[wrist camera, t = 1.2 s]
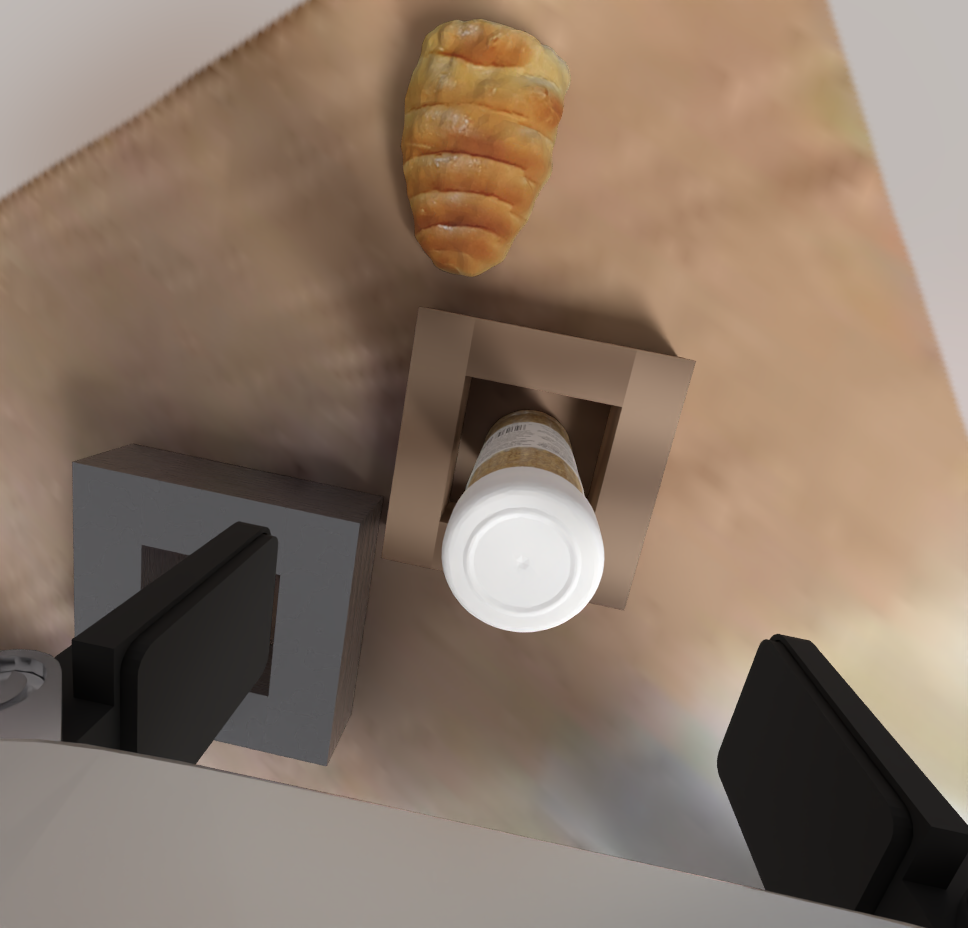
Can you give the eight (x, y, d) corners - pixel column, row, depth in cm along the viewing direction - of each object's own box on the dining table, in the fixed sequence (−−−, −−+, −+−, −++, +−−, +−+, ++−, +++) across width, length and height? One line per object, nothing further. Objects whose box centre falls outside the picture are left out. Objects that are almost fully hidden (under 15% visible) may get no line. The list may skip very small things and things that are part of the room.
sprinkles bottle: (497, 503, 29) (466, 653, 16) (471, 421, 28) (415, 508, 15) (583, 481, 28) (625, 619, 15) (559, 395, 27) (582, 464, 14)
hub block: (351, 714, 33) (326, 766, 29) (128, 663, 33) (75, 708, 30) (383, 496, 29) (359, 523, 25) (132, 443, 30) (72, 462, 26)
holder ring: (615, 581, 29) (623, 610, 26) (396, 534, 30) (380, 557, 27) (678, 356, 26) (695, 361, 23) (431, 308, 26) (418, 306, 24)
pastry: (529, 290, 26) (527, 284, 22) (392, 263, 26) (367, 254, 23) (574, 65, 24) (580, 18, 20) (422, 39, 24) (400, -12, 20)
